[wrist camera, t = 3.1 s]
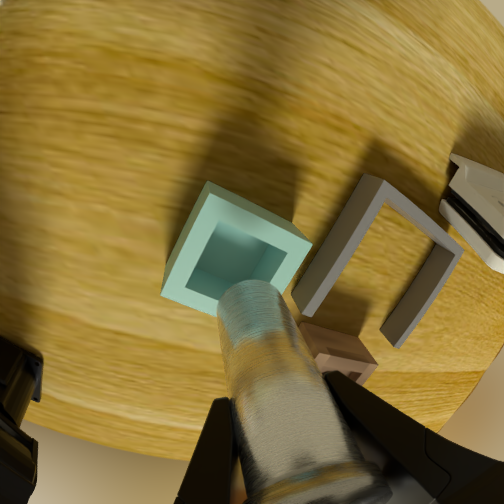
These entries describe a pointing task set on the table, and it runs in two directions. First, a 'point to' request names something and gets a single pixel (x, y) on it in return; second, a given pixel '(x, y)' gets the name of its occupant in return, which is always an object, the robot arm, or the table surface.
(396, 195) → the grey u-shaped bracket
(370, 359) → the walnut block
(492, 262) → the grey slotted housing
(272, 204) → the table surface
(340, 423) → the metal cylinder peg
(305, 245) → the teal block
